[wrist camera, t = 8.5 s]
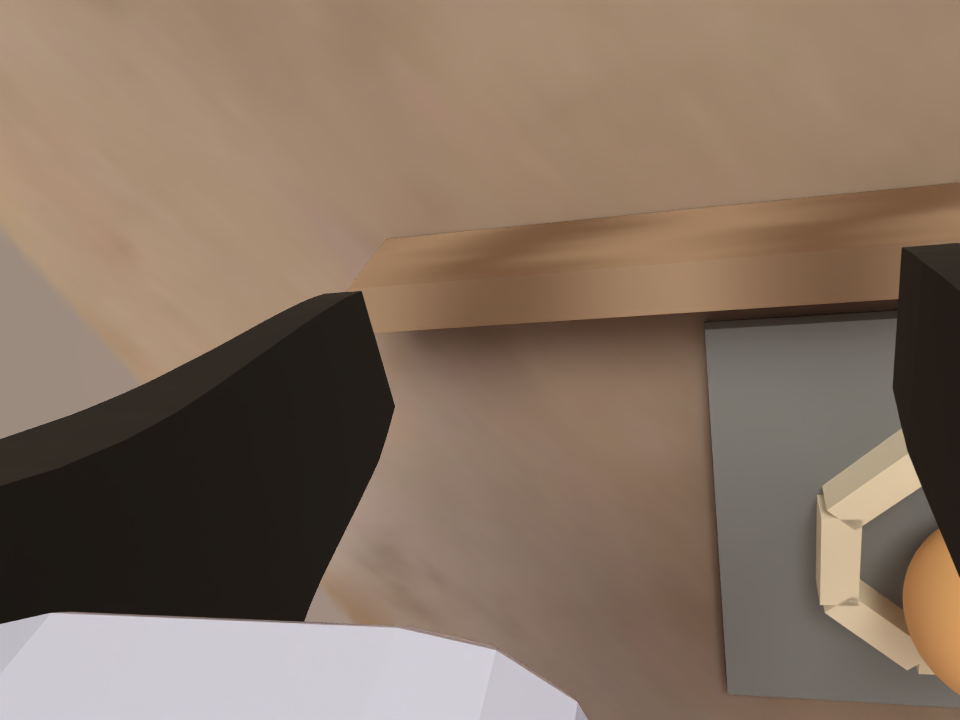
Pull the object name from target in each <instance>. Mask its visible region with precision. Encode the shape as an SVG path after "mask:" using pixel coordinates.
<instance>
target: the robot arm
mask: <svg viewBox="0 0 960 720" xmlns="http://www.w3.org/2000/svg"><path fill="white" fill-rule="evenodd" d="M893 392H894V397H895V401H896V406H897V410H898V415H899V419H900V423H901V427H902V431H903V435H904V439H905V443H906V447H907V451H908V454H909V456H910V459H911V461H912V464H913V467H914V469H915V471H916V474H917V476H918V479H919V481H920V484H921V486H922V489H923V491H924V494H925V496H926V498H927V501H928V503H929V506H930V508H931V510H932V513H933V515H934V518H935V520H936V522H937V525H938V527H939V530H940V532H941V534H942V537H943V539H944V542H945V544H946V546H947V549H948V551H949V554H950V556H951V558H952V561H953V563H954V566H955V568H956V570H957V573H958V575H959V577H960V243H949V244H937V245H924V246H912V247H902V250H901V266H900V281H899V296H898V311H897V327H896V342H895V357H894V373H893ZM394 408H395V405H394V402H393V398H392V395H391V391H390V388H389V384H388V381H387V377H386V374H385V370H384V367H383V363H382V360H381V356H380V353H379V349H378V346H377V342H376V339H375V335H374V332H373V328H372V325H371V321H370V318H369V314H368V311H367V307H366V304H365V300H364V297H363V293H362V291H354V292H341V293H329V294H322V295H319V296H316V297H313V298H311V299H308V300H306V301H304V302H301V303H299V304H297V305H295V306H293V307H291V308H289V309H287V310H285V311H283V312H281V313H279V314H277V315H275V316H273V317H272V318H270V319H268V320H266V321H264V322H262V323H260V324H259V325H257V326H255V327H253V328H251V329H249V330H248V331H246V332H244V333H242V334H240V335H238V336H237V337H235V338H233V339H231V340H229V341H227V342H226V343H224V344H222V345H220V346H218V347H216V348H215V349H213V350H211V351H209V352H207V353H205V354H203V355H201V356H199V357H197V358H195V359H193V360H191V361H189V362H187V363H185V364H183V365H182V366H180V367H178V368H176V369H174V370H172V371H170V372H168V373H166V374H164V375H162V376H160V377H158V378H156V379H154V380H152V381H150V382H148V383H146V384H143V385H141V386H139V387H137V388H135V389H133V390H130V391H128V392H126V393H124V394H122V395H119V396H117V397H114V398H112V399H109V400H107V401H105V402H102V403H100V404H97V405H95V406H92V407H90V408H88V409H85V410H83V411H80V412H77V413H75V414H72V415H70V416H67V417H64V418H61V419H58V420H55V421H52V422H49V423H46V424H43V425H40V426H38V427H35V428H32V429H29V430H26V431H23V432H20V433H17V434H14V435H11V436H9V437H6V438H3V439H0V720H588V719H587V717H586V716H585V714H584V712H583V711H582V709H581V707H580V706H579V704H578V702H577V701H575V700H574V699H573V698H572V697H571V696H570V695H569V694H567V693H566V692H565V691H564V690H562V689H561V688H559V687H558V686H556V685H554V684H553V683H551V682H550V681H548V680H547V679H545V678H543V677H542V676H540V675H539V674H537V673H536V672H534V671H533V670H531V669H529V668H528V667H526V666H525V665H523V664H522V663H520V662H519V661H517V660H515V659H514V658H512V657H511V656H509V655H508V654H506V653H505V652H503V651H501V650H500V649H498V648H497V647H495V646H493V645H489V644H485V643H480V642H476V641H471V640H467V639H463V638H458V637H454V636H449V635H445V634H441V633H436V632H432V631H427V630H423V629H419V628H414V627H410V626H395V625H372V624H348V623H323V622H304V620H305V618H306V615H307V612H308V609H309V607H310V604H311V602H312V599H313V597H314V595H315V593H316V590H317V588H318V586H319V583H320V581H321V579H322V577H323V575H324V573H325V571H326V569H327V567H328V564H329V562H330V560H331V558H332V556H333V554H334V552H335V550H336V548H337V546H338V544H339V542H340V540H341V538H342V536H343V534H344V532H345V530H346V528H347V526H348V524H349V522H350V520H351V518H352V516H353V514H354V512H355V510H356V508H357V506H358V504H359V502H360V500H361V497H362V495H363V493H364V491H365V489H366V487H367V485H368V483H369V481H370V479H371V477H372V474H373V472H374V470H375V468H376V466H377V464H378V461H379V459H380V455H381V452H382V449H383V446H384V443H385V440H386V437H387V433H388V430H389V426H390V423H391V419H392V415H393V412H394Z"/></svg>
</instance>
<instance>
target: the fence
mask: <svg viewBox="0 0 960 720" xmlns="http://www.w3.org/2000/svg"><path fill="white" fill-rule="evenodd" d="M949 243H960V183H950V184H940V185H930V186H920V187H910V188H899V189H889V190H879V191H869V192H859V193H849V194H839V195H829V196H818V197H808V198H798V199H788V200H778V201H768V202H758V203H748V204H737V205H727V206H717V207H707V208H697V209H687V210H677V211H667V212H656V213H646V214H636V215H626V216H616V217H606V218H596V219H586V220H575V221H565V222H555V223H545V224H535V225H525V226H515V227H505V228H494V229H484V230H474V231H464V232H454V233H444V234H434V235H424V236H414V237H403V238H393V239H386V241H385V242H384V243H383V245H382V246H381V247H380V248H379V250H378V251H377V252H376V254H375V255H374V256H373V257H372V259H371V260H370V261H369V263H368V264H367V265H366V266H365V268H364V269H363V270H362V272H361V273H360V274H359V275H358V277H357V278H356V279H355V281H354V282H353V283H352V284H351V286H350V287H349V288H348V292H354V291H362V293H363V297H364V300H365V304H366V307H367V311H368V314H369V318H370V321H371V325H372V328H373V332H374V333H382V332H397V331H413V330H428V329H443V328H459V327H474V326H490V325H505V324H521V323H536V322H551V321H567V320H582V319H598V318H613V317H629V316H644V315H659V314H675V313H690V312H706V311H721V310H737V309H752V308H767V307H783V306H798V305H814V304H829V303H845V302H860V301H875V300H891V299H898V296H899V281H900V266H901V250H902V247H912V246H924V245H937V244H949Z"/></svg>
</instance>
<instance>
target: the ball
mask: <svg viewBox="0 0 960 720" xmlns="http://www.w3.org/2000/svg"><path fill="white" fill-rule="evenodd" d="M903 611H904V616H905V621H906V625H907V628H908V631H909V634H910V636H911V639H912V641H913V643H914V645H915V647H916V649H917V650H918V652H919V654H920V656H921V657H922V659H923V660H924V661H925V663H926V664H927V665H928V666H929V668H930V669H931V670H932V671H933V673H934V674H935V675H936V676H937V677H938V678H939V679H940V680H941V681H942V682H944V683H945V684H946V685H947V686H948V687H949V688H950V689H951V690H953V691H954V692H956V693H957V694H958V695H960V577H959V575H958V573H957V570H956V568H955V566H954V563H953V561H952V558H951V556H950V554H949V551H948V549H947V546H946V544H945V542H944V539H943V537H942V534H941V532H940V530H939V528H938V529H937V530H936V531H934V532H933V533H932V534H931V535H930V536H929V537H928V538H927V539H926V540H925V541H924V542H923V543H922V544H921V546H920V547H919V548H918V550H917V551H916V552H915V554H914V556H913V558H912V560H911V562H910V564H909V566H908V569H907V572H906V576H905V580H904V586H903Z"/></svg>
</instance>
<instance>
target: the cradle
mask: <svg viewBox="0 0 960 720" xmlns="http://www.w3.org/2000/svg"><path fill="white" fill-rule="evenodd" d="M897 311H898V310H896V311H880V312H863V313H847V314H831V315H814V316H798V317H782V318H765V319H749V320H733V321H716V322H704V323H705V343H706V359H707V375H708V391H709V406H710V422H711V438H712V454H713V470H714V485H715V501H716V517H717V533H718V548H719V564H720V580H721V596H722V611H723V627H724V643H725V659H726V674H727V690H728V694H734V695H751V696H767V697H784V698H801V699H817V700H834V701H851V702H868V703H884V704H901V705H918V706H934V707H951V708H960V695H958V694H957V693H956V692H954V691H953V690H951V689H950V688H949V687H948V686H947V685H946V684H945V683H944V682H942V681H941V680H940V679H939V678H938V677H937V676H936V675H935V674H934V673H933V671H932V670H931V669H930V668H929V666H928V665H927V664H926V663H925V661H924V660H923V659H922V657H921V656H920V654H919V652H918V650H917V649H916V647H915V645H914V643H913V641H912V639H911V636H910V634H909V631H908V628H907V625H906V621H905V616H904V611H903V586H904V580H905V576H906V572H907V569H908V566H909V564H910V562H911V560H912V558H913V556H914V554H915V552H916V551H917V550H918V548H919V547H920V546H921V544H922V543H923V542H924V541H925V540H926V539H927V538H928V537H929V536H930V535H931V534H932V533H933V532H934V531H936V530H937V529H938V528H939V527H938V525H937V522H936V520H935V518H934V515H933V513H932V510H931V508H930V506H929V503H928V501H927V498H926V496H925V494H924V491H923V489H922V486H921V484H920V481H919V479H918V476H917V474H916V471H915V469H914V467H913V464H912V461H911V459H910V456H909V454H908V451H907V447H906V443H905V439H904V435H903V431H902V427H901V423H900V419H899V415H898V410H897V406H896V401H895V397H894V392H893V373H894V357H895V342H896V327H897Z"/></svg>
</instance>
